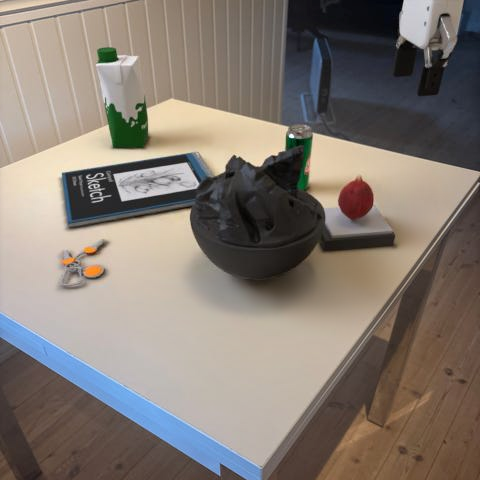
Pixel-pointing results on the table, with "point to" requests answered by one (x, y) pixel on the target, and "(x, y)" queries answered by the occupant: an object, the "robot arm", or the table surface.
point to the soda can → (304, 137)
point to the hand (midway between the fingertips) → (413, 85)
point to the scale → (355, 230)
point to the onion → (356, 199)
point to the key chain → (88, 272)
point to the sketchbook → (132, 188)
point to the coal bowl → (257, 217)
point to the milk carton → (123, 98)
